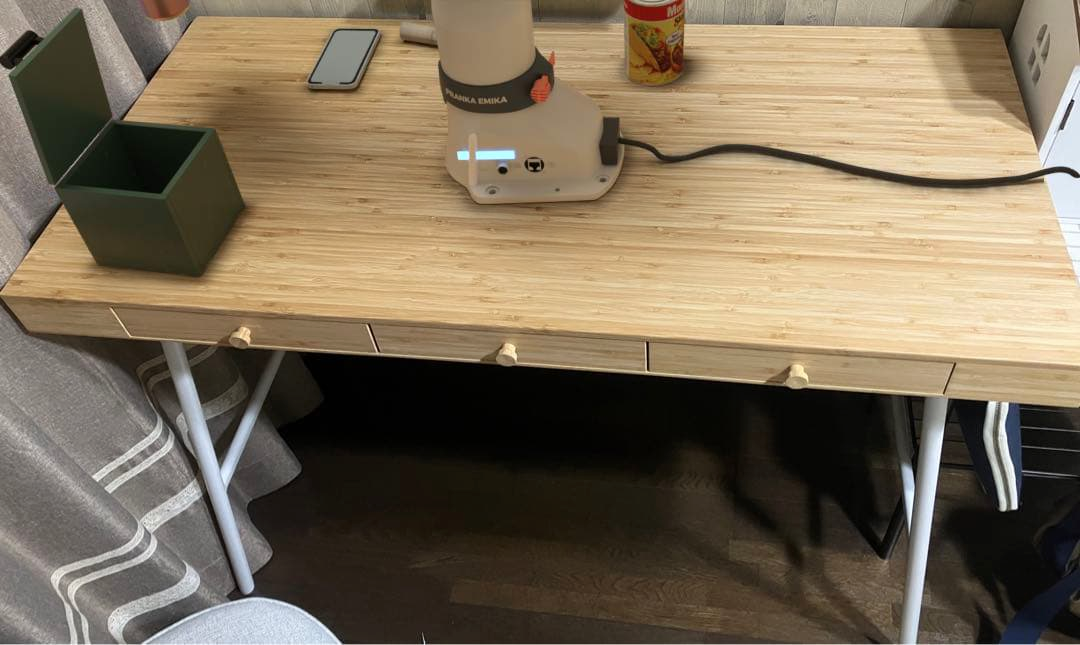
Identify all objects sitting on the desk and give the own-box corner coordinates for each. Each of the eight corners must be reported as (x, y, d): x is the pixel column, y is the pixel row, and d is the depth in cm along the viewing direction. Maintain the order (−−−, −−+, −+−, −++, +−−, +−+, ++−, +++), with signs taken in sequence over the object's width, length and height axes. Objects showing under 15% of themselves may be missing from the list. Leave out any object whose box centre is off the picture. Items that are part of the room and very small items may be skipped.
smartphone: (381, 28, 148) (355, 85, 138) (383, 33, 149) (356, 91, 139) (333, 27, 150) (303, 84, 139) (335, 33, 150) (305, 90, 140)
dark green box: (245, 205, 125) (215, 127, 116) (200, 277, 116) (164, 199, 108) (148, 195, 127) (111, 119, 119) (96, 264, 119) (53, 188, 111)
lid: (81, 8, 107) (40, -1, 108) (15, 76, 99) (-30, 66, 100) (113, 116, 118) (74, 107, 119) (55, 185, 110) (14, 175, 111)
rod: (400, 43, 147) (397, 26, 145) (409, 33, 148) (406, 16, 146) (473, 56, 143) (470, 39, 141) (481, 46, 145) (479, 29, 143)
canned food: (685, 83, 134) (688, 2, 126) (626, 88, 135) (625, 6, 126) (680, 51, 140) (682, -30, 131) (623, 55, 140) (621, -25, 131)
